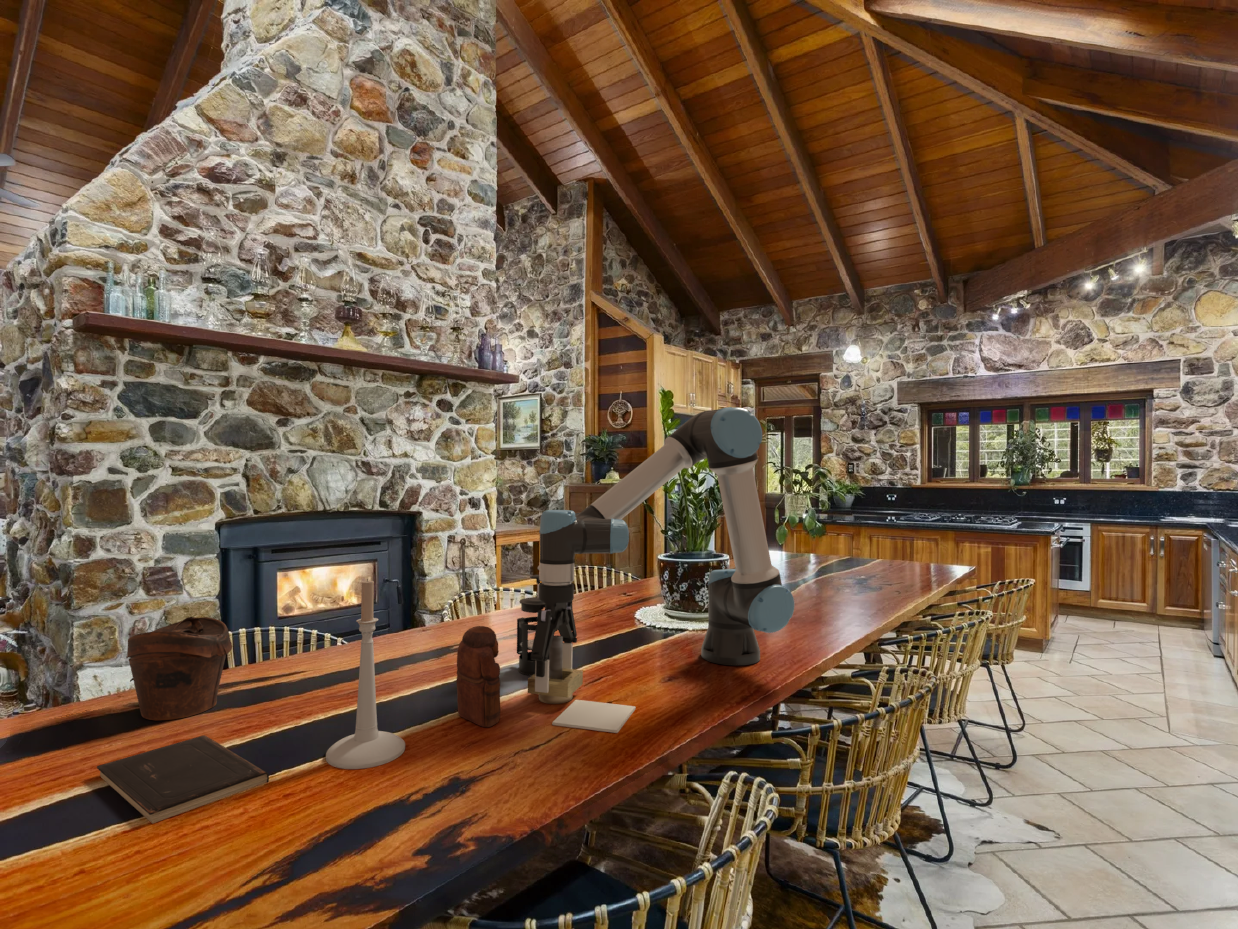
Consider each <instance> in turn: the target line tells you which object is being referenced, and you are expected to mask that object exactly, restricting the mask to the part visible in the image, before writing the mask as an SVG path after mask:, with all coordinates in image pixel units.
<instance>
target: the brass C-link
mask: <svg viewBox="0 0 1238 929" xmlns="http://www.w3.org/2000/svg"><path fill="white" fill-rule="evenodd" d="M583 672H584V670H583V669H574V668H572V669H564V668H562V680H559V679H550V678H549V692H548V693H544V692H536V691H535V675H532V676H529V677H528V678H527V694H534V695H539V694H540V695H548V696H557V697H566V698H568V697H569V696H570V695H571V694H572V693H573V694H574V693H575V692H576V691H577V690H578V689H579V688H580V687H581V686H582V685H583V684H584V683H583V679H584V678H583V676H584V673H583ZM573 694H572V695H573Z"/></svg>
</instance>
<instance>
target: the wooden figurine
mask: <svg viewBox="0 0 1238 929" xmlns="http://www.w3.org/2000/svg"><path fill="white" fill-rule="evenodd" d="M499 652H500V650H499V641H498V639H497V634H496V633H495V631H494V630H493V629H492V628H491V627H490V626H485V625H476V626H473V627H470V628H469V629H467V630H466V631H465V632H464V633H463V635H462V637H461V641H460V642H459V645H458V647H457V652H456V653H457V654H456V655H457V656H456V668H457V670H456V692H457V694H456V696H457V701H456V702H457V714H458V715H459V717H461V718H462V719H464V720H467V721H469V722H471V723H474V724H476V725H477V726H479V727H481V728H490V727H493V726H494V725H497V723H499V721H500V719H501V678H500V675H501V666H500V664H499V663H498V662H496V659H495V658H497V657H498V655H499Z"/></svg>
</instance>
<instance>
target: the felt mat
mask: <svg viewBox="0 0 1238 929" xmlns="http://www.w3.org/2000/svg"><path fill="white" fill-rule="evenodd" d="M635 710H636V706H634V705H628V704H627V705H626V704H616V703H608V702H601V701H593V700H592V701H591V700H583V699H582V700H581V699H575V700H574V701H573V702H572V703H571V704H569V706H567V708H566V709H564V710H563V711H562V713H560V714H559V715H558V716H557V717H556V718H555V719H554V720H553V721H552V726H557V727H565V728H566V727H567V728H572V729H573V728H574V729H584V730H590V731H591V730H592V731H598V732H606V733H607V732H608V733H613V734H614V733H615V734H618V733H619V732H620V730H622V728H623V726H624V725H625V724H626V723H627V721H628V720H629V718H630V717H631V716H632V714H633V713H634V712H635Z"/></svg>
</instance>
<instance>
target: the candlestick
mask: <svg viewBox="0 0 1238 929" xmlns="http://www.w3.org/2000/svg"><path fill="white" fill-rule="evenodd" d="M374 584H375V582H374V580H369V579H368V578H367V579H366V580H363V581H361V591H360V592H361V593H360V594H361V598H360V599H361V600H360V601H361V604H360V607H361V610H360V611H361V612H360V614H361V617H360V618H359V619H357V620H356V621H355V622H357V623H358V625H359V627H358V630H359V632H360V633H361V637H362V638H361V641H360V655H359V672H358V673H359V674H358V687H357V688H358V689H357V700H356V703H357V704H356V705H357V706H356V718H355V719H356V720H355V730H354V734H351V735H347V736H345V737H343V738H341V739H339V740H337V741H336V742H335V743H333V744H332V745H331V746H330V747H329V748H328V749H327V750H326V752H325V760H326V763H327V764H328V765H330V766H331V767H335V768H338V769H343V770H344V769H345V770H359V769H369V768H374V767H378V766H382V765H385V764H387V763H390V762H393V761H394V760H396V759H397V758H399V757H400V756H402V754H404V752H405V750H406V742H405V740H404V739H403V738H402V737H400V736H399V735H397V734H395V733H393V732H389V731H382V730H379V729H378V718H377V717H378V716H377V701H376V700H377V697H376V695H377V694H376V693H377V692H376V677H375V676H376V674H375V654H374V653H375V651H374V650H375V649H374V640H373V633H374V631H375V630H376V622H378V621H379V618H377V617H374V599H375V598H374V597H375V594H374V592H375V591H374V590H375V585H374Z"/></svg>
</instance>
